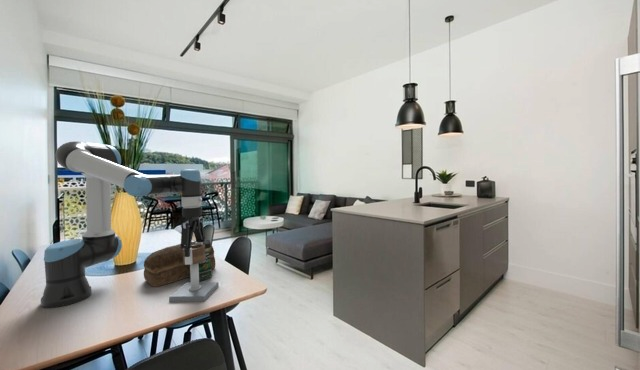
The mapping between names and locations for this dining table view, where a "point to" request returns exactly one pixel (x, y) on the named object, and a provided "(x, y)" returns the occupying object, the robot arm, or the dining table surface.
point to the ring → (197, 253)
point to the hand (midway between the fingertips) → (194, 260)
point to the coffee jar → (205, 262)
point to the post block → (194, 288)
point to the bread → (168, 266)
